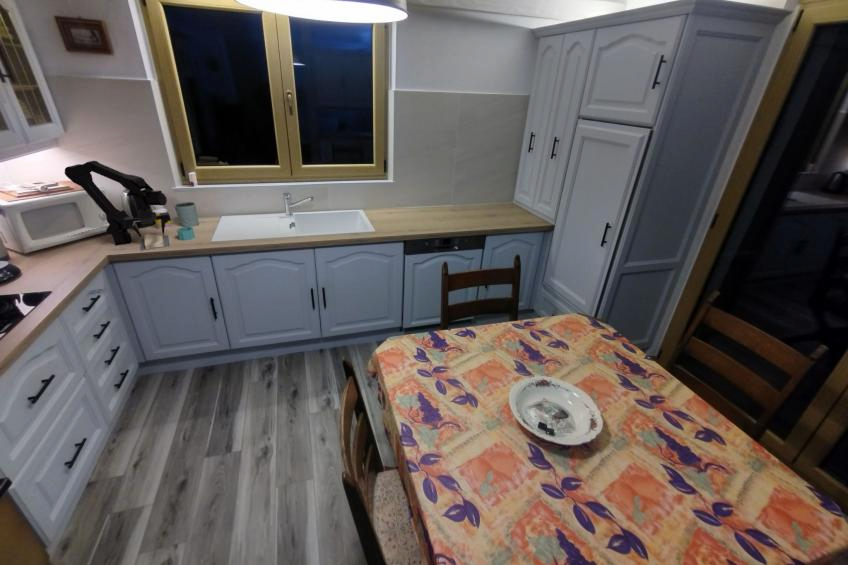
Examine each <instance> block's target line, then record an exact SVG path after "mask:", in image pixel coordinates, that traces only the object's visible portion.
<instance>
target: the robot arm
mask: <svg viewBox="0 0 848 565" xmlns="http://www.w3.org/2000/svg"><path fill="white" fill-rule="evenodd" d="M63 172H64V175H65V177H67V178H68V179H69V180H70V181H71V182H72V183H74V184H75V185H77V186H80V187H82V189H83V190H84V191H85V192H86V193H87V195H88V196H89V197H90V198H91V199H92V200H93V201H94V203H95V204H96V205H97V206H98V207H99V209H100V210H101V211H102V212H103V213H104V214H105V217H106V222H107V223H108V226H107V228H106V229H105V231H106V233H107V234H108V235H111V236H112V239H113V240H114V246H115V247H117V246H122V245H123V246H124V245H127V244H128V245H129V244H132V241H133V238H132V234H131V232H130V231H129V229H132V230H134V231H135V233H136V234H137V235H138V236H139V237H140V239H143V237H142V234H141V231H140V229H139V227H138V225H137V223H140V224H141V225H142V226H143V225H148V224H149V225H153V224H154V221H155V220H160V219H161V226H162V229H161V233H162V236H165V229H164V228H165V224H166V223H167V222H168V221H170V222H171V221H172V220H171V215H170V212H166V213H160V215H159V216H156V213H155V212H153V210H152V206H153V205H164V206H165V205H167V203H168V202H167V201H168V199H167V196H166V195H165V193H163V192H162V190H154V188H152V187H151V185H149V184H148V182H146V181H145V179H144V178H143V177H141V176H137V175H135V174H127V173H123V172H122V171H119V170H117V169H114V168H112V167H110V166H107V165H104V164H103V163H100V162H99V161H97V160H89V161H86V162H85V163H82V164H80V163H79V164H77V163H76V164H73V165H70V166H66V167H65V168H64V171H63ZM92 173H95V174H97V175H100V176H103V177H104V178H107V179H109V180H111V181H114V182H116V183H119V184H120V185H121V186H122V187H123V188H124V189H125V190H128V191H129V192H128V193H126V196H127V197H132V200H133V202H134V205H135V209H136V212H137V218H136V217H135V218H134V216H129V214H128V213H127V212H126V211H125V210H119V209H117V208H116V207H115V205H113V203H112V202H111V201H110V199H108V198H107V196H106V195H105V193H103V192H102V190H101V188H99V187H98V186H97V184H96V183H95V182H94V180H93V179H94V178H93V175H92Z"/></svg>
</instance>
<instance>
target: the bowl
mask: <svg viewBox="0 0 848 565" xmlns="http://www.w3.org/2000/svg"><path fill="white" fill-rule="evenodd" d="M176 232H177V236H178V239H179V241H190V240H194V239H195V238H196V235H195V232H194V228H193V227H179V228H177V229H176Z"/></svg>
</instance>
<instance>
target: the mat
mask: <svg viewBox="0 0 848 565" xmlns="http://www.w3.org/2000/svg"><path fill="white" fill-rule="evenodd" d="M162 236H163V242H164V246H162V247H155V248H149V249H146V246H145V238H140V243H139V244H140V246H139V249H140V250H139V251H140V252H142V251H150V250H155V249H162V248H167V247H168V248H169V247H171V245H170V244H171V243H170V240H169V239H170V238H169V234H168V235H162Z"/></svg>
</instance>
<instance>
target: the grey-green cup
mask: <svg viewBox="0 0 848 565" xmlns="http://www.w3.org/2000/svg"><path fill="white" fill-rule="evenodd" d="M173 206H174V207H173V208H174V210H175V212H176V215H177V218H178V220H179V222H180V226H181V228H183V227H192V228H193V227H198V226H199V225H200V222H199V217H198V212H197V207H196V202H194V201H185V202H178V203H175V204H174V205H173Z"/></svg>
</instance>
